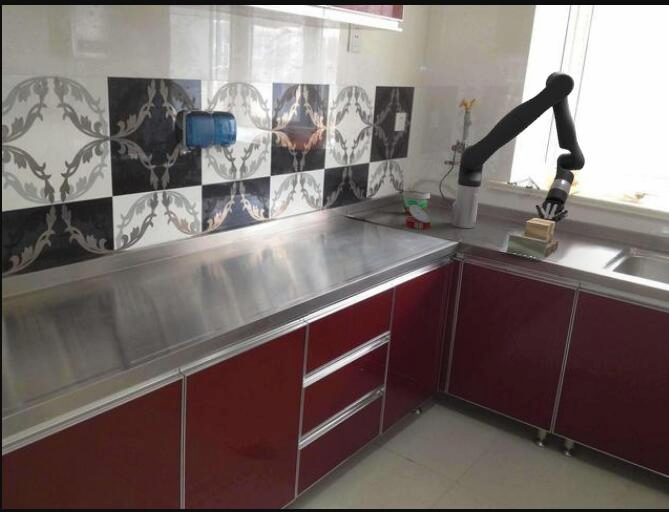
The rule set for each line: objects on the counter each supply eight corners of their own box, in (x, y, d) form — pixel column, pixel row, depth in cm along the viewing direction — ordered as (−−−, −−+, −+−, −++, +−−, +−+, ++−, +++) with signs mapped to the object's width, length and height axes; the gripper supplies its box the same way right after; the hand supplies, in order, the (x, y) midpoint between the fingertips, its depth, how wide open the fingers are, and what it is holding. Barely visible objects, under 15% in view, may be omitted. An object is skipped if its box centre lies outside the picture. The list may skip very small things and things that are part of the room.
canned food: (420, 235, 266) (432, 214, 265) (426, 238, 256) (440, 217, 256) (397, 221, 264) (410, 200, 263) (403, 224, 254) (416, 203, 253)
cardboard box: (531, 235, 246) (534, 217, 244) (552, 239, 242) (555, 221, 240) (523, 240, 238) (526, 221, 236) (545, 244, 234) (548, 225, 232)
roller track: (523, 242, 248) (526, 225, 246) (557, 249, 242) (560, 232, 240) (506, 252, 232) (509, 234, 230) (542, 259, 225) (545, 242, 223)
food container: (399, 214, 279) (401, 192, 277) (400, 211, 285) (402, 189, 282) (427, 217, 278) (430, 195, 275) (428, 215, 283) (430, 192, 281)
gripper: (540, 184, 252) (526, 219, 246) (575, 190, 246) (561, 226, 239) (542, 196, 258) (528, 230, 252) (575, 202, 252) (562, 237, 245)
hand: (544, 228), depth 245 cm, fingers closed
